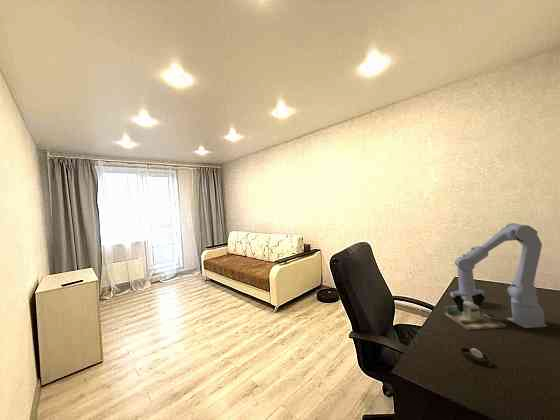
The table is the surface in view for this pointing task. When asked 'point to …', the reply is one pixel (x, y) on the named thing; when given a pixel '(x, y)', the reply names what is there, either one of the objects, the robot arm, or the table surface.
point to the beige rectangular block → (470, 310)
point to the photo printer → (468, 297)
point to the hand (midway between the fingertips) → (468, 310)
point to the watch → (476, 354)
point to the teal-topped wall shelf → (473, 324)
